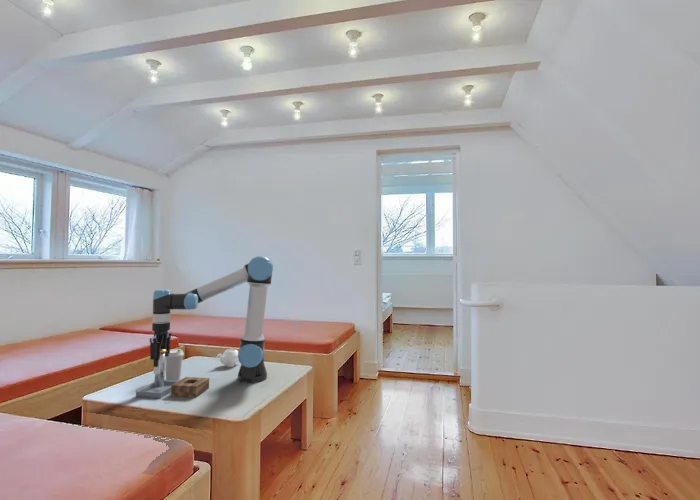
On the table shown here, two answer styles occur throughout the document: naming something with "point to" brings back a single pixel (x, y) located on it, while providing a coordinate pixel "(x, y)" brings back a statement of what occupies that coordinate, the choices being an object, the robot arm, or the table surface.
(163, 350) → the hitch pin
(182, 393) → the socket block
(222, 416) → the table surface
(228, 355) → the teapot
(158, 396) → the tray
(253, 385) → the table surface
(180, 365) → the coffee cup
